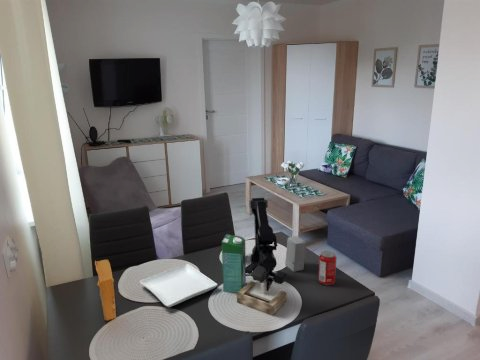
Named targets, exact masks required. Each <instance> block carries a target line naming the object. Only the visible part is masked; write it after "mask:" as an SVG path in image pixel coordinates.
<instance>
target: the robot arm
mask: <svg viewBox="0 0 480 360" xmlns="http://www.w3.org/2000/svg"><path fill="white" fill-rule="evenodd" d="M268 202H269V201H268V199H265V197H252V198H251V200H249V203H248V204H249V208H250V211H251V212H252V214H253V219H254V221H253V222H254V223H253V224H254V242H255V243H254V246H253V248H252V250H251V251H252V253H251V254H250V263H249V264H247V265H246V268H245V273H246V275H247V274H248V275H250V276H251V277H252V281H253V280H254V281H256V282H257V281H258V282H260V283H262V282H263V281H264V280H266V281H267V291H268V290H269V289H270V286H272V284H273V282H274V283H275V284H279V285H282V284H284V283H285V282H286V281H287V280H288V273H286V272H283V271H281V270H279V271H274V270H275V268H276V266H277V265H278V263H277V259H276V257H275V254H274V251H277V247H278V241H277V239H278V238H277V235H276V233H275V232H274V230H273V227H271V226H270V224H269V217H268V213H267V212H268V211H267V209H268V208H269V205H268Z"/></svg>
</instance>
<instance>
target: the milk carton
mask: <svg viewBox="0 0 480 360" xmlns="http://www.w3.org/2000/svg"><path fill="white" fill-rule="evenodd" d="M235 236H236V235H231V234H229V233H226V234H225V235H224V238H222V239H223V240H221V257H222V259H221V261H222V283H223V284H222V287H223V289H222V290H223V292H230V293H237V292H239V291H240V290H241V289H242V288H243V287H245V286H246V285H247V273H245V268H246V267H247V265H246V262H247V261H246V257H247V256H246V239H241V238H238V237H235Z"/></svg>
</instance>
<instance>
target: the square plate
mask: <svg viewBox="0 0 480 360" xmlns="http://www.w3.org/2000/svg"><path fill="white" fill-rule="evenodd" d="M139 283H140V284H141V285H142V286H144V288H145V289H147V290H149V292H151V293H152V294H153V295H154V296H155V297H156V298H157V299H159V301H160V302H161V303H162V304H163V305H164V306H165V307H167V308H171V307H173V306H176V305H179V304H181V303H183V302H185V301H187V300H188V301H189V299H192V298H195V297H197V296H199V295H202V294H205V293H207V292H209V291H211V290H213V289H215V288H216V287H218V283H216V282H215V281H214V280H212V279H211V278H209V277H208V276H206V275H205V274H203V273H202V272H201V271H199V270H198V269H196V268H195V267H193V266H192V265H191V264H189V263H185V264H183V265H179V266H176V267H173V268H170V269H167V270H165V271H162V272H160V273H156V274H154V275H151V276H148V277H147V278H143V279H141V280H140V281H139Z"/></svg>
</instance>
